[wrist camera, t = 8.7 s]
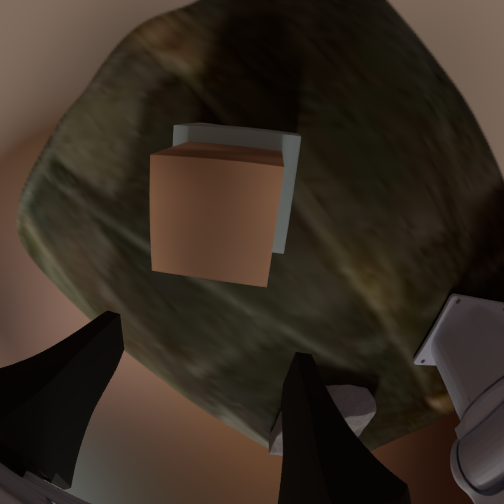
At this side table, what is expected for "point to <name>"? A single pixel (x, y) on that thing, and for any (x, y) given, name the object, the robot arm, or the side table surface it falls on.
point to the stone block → (349, 404)
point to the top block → (257, 139)
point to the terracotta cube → (215, 211)
